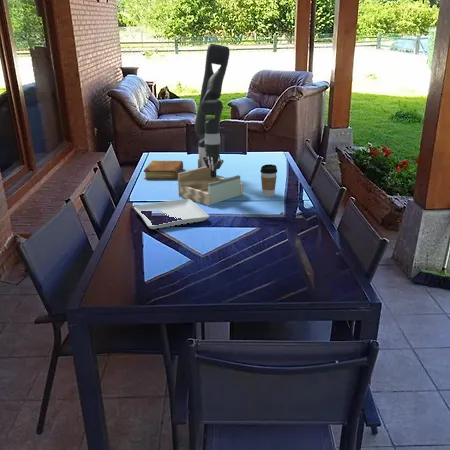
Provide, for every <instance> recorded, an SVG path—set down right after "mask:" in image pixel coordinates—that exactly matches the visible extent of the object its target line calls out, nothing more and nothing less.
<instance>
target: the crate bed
mask: <svg viewBox="0 0 450 450" xmlns="http://www.w3.org/2000/svg"><path fill="white" fill-rule="evenodd" d="M223 179H226V178H224V177H220V176H217V175H216V177H215V178H212V177H211V175H210V169H209V168H207V166H206V167H201V168H198V167H197V168H194V169H190V170H186V171H181V173H178V178H177V182H178V183H177V185H178V197H179V198H182V199H183V198H184V199H190V200H192V201H193V202H194V203H195V202H196V203H199V204H203V205H205V206H209V205H211V204H210V193H208V183H212V182H215V181H219V180H223ZM243 194H244V183H242V182H240V195H239V196H242V195H243Z"/></svg>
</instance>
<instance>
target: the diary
mask: <svg viewBox="0 0 450 450" xmlns="http://www.w3.org/2000/svg"><path fill="white" fill-rule="evenodd" d="M183 169H184V162H183V160H151V161H150V162H149V164H148V165H146V167H145V168H144V170H143V173H144V175H145V177H144V178H143V180H178V173H181V172H183Z"/></svg>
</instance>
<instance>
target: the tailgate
mask: <svg viewBox="0 0 450 450" xmlns="http://www.w3.org/2000/svg"><path fill="white" fill-rule="evenodd" d="M240 183H241V175H233V176H230V177H227V178H225V179H223V180H219V181H215V182H212V183H208V193H210V205H213V204H217V203H219V202H220V203H221V202H222V201H226V200H229V199H232V198H236V197H239V196H241V195H240Z"/></svg>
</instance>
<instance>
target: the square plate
mask: <svg viewBox="0 0 450 450" xmlns="http://www.w3.org/2000/svg"><path fill="white" fill-rule="evenodd" d="M133 209H134V210H135V212H137V213H138V215H139V216H140V217H141V219H142V220H143V222H144V223H145V224H146V227H148V228H149V229H151V230H156V229H157V228H159V229H164V227H165V228H170V226H171V227H175V225H177V226H182V225H181V224H183V225H188V224H187V223H189V224H194V222H195V223H199V222H204V221H206V220H207V219H208V218H210V214H208V212H206V211H205V210H203V209H202V207H200V206H199V205H197V204H196V203H195V201H192V200H190V199H186V198H184V199H183V198H182V199H175V200H166V201H159V202H154V203H153V202H152V203H146V204H142V205H136V206H133ZM157 210H159V211H162V212H163V213H166V214H167V216H168V215H169V217H174V218H175V217H176V218H177V219H178V218H181V219H182V220H177V221H172V222H168V223H163V224H159V225H152V223H151V221H150V220H149V219H148V218H147V217H146V216H145V215H144V214H142V213H141V211H157ZM166 214H165V215H166ZM176 218H175V219H176Z"/></svg>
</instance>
